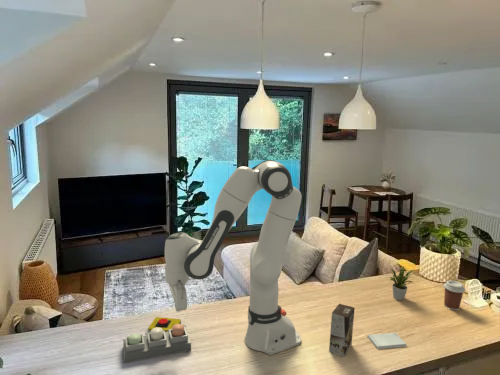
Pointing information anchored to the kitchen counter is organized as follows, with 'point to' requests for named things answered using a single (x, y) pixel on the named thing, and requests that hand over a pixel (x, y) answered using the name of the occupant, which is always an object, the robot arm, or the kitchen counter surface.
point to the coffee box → (341, 329)
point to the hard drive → (386, 340)
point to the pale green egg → (134, 339)
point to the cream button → (156, 334)
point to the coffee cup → (453, 294)
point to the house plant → (400, 283)
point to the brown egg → (178, 330)
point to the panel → (156, 346)
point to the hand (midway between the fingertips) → (178, 309)
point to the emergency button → (163, 324)
